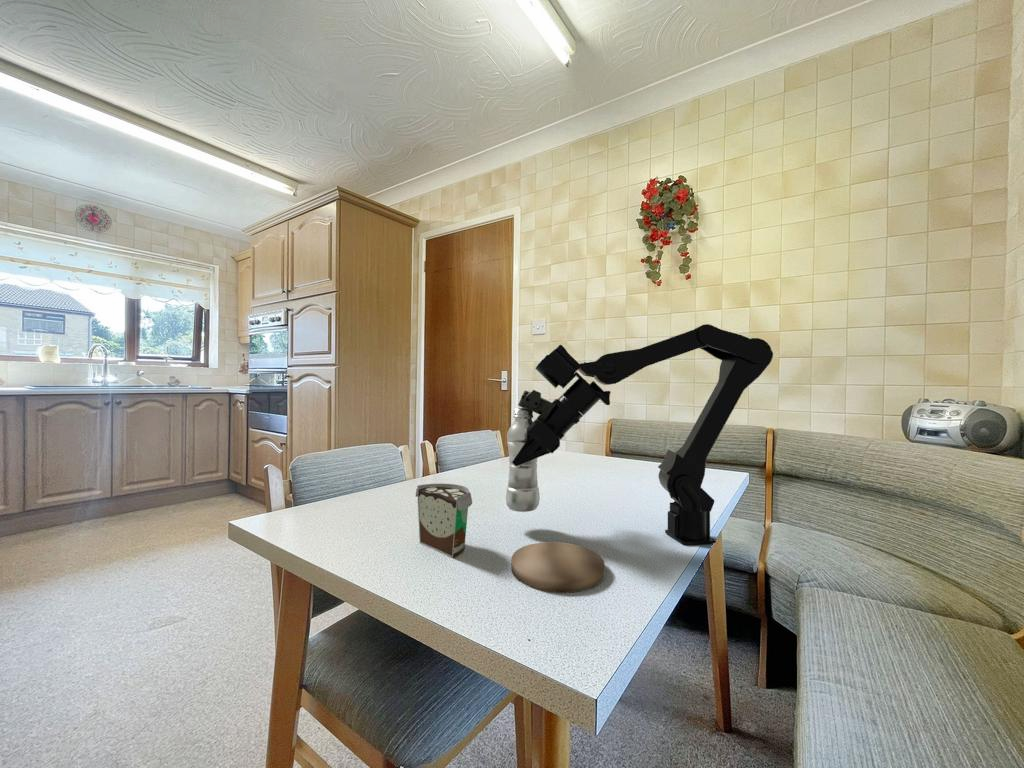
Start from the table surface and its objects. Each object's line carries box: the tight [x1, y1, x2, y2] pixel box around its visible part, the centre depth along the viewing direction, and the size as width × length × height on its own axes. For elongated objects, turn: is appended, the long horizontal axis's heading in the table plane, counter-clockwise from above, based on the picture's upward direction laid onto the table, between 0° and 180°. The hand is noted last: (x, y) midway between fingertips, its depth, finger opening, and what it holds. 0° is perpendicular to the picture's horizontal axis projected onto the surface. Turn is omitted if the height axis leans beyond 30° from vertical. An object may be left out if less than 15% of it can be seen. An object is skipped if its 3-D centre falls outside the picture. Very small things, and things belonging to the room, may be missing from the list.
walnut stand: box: [510, 541, 606, 593], centre depth 61 cm, size 14×14×2 cm
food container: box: [415, 482, 473, 559], centre depth 70 cm, size 12×6×10 cm, turn 47°
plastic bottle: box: [505, 407, 541, 513], centre depth 78 cm, size 6×7×20 cm
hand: (515, 461), depth 79 cm, fingers closed on plastic bottle, 6 cm apart
